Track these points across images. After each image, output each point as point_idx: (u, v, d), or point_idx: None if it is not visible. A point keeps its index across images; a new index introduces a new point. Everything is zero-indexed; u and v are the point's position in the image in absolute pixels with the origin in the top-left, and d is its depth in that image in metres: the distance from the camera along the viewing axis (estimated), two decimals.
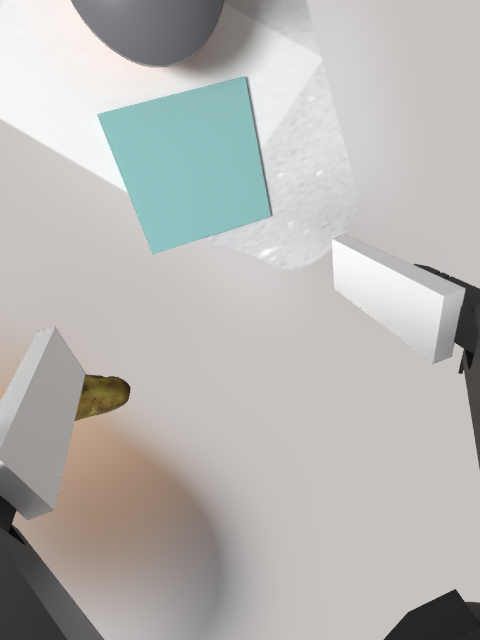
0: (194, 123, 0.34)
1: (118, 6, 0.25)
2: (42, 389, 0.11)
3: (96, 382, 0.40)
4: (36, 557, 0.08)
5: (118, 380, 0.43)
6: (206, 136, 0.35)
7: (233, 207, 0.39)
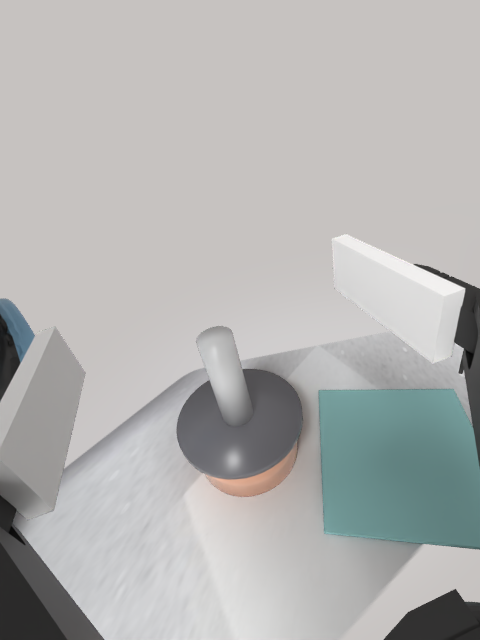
0: (348, 436, 0.34)
1: (256, 439, 0.29)
2: (42, 389, 0.11)
3: None
4: (36, 557, 0.08)
5: None
6: (361, 429, 0.34)
7: (443, 422, 0.33)
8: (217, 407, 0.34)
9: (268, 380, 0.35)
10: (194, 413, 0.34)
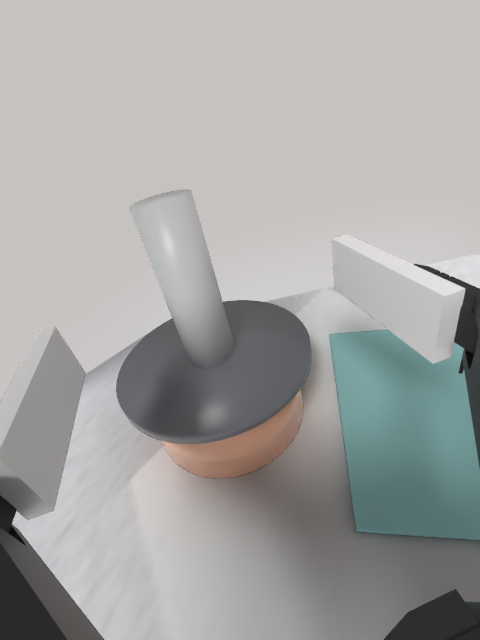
0: (378, 386, 0.23)
1: (238, 382, 0.18)
2: (42, 389, 0.11)
3: None
4: (36, 557, 0.08)
5: None
6: (398, 376, 0.23)
7: None
8: (182, 346, 0.22)
9: (258, 310, 0.24)
10: (147, 356, 0.22)
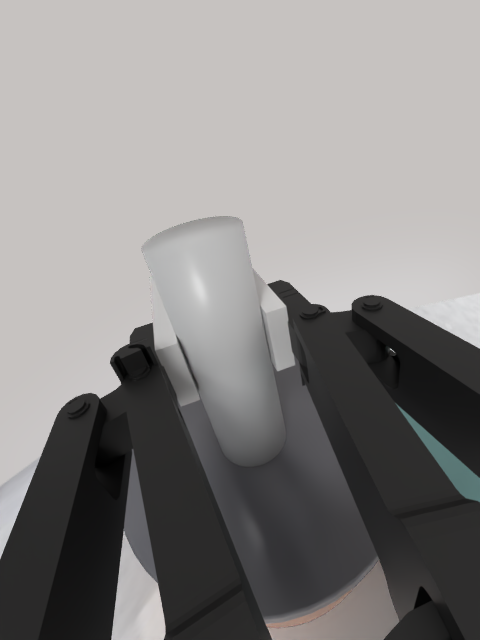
0: (478, 477, 0.16)
1: (302, 503, 0.12)
2: None
3: None
4: (192, 442, 0.10)
5: None
6: None
7: None
8: (209, 422, 0.16)
9: None
10: None
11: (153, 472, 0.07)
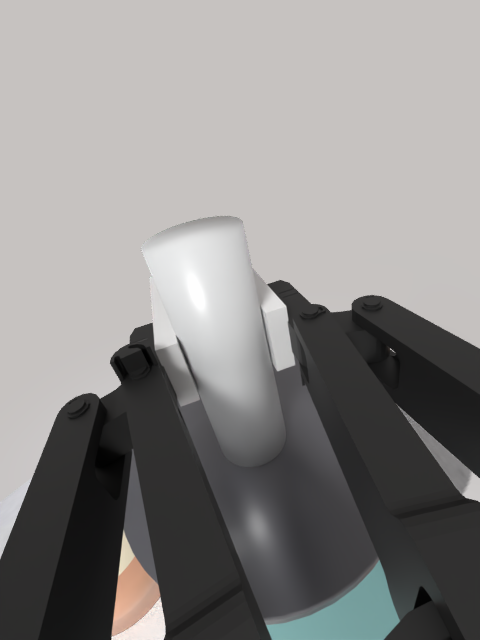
0: None
1: (303, 504, 0.12)
2: None
3: None
4: (192, 442, 0.10)
5: None
6: None
7: None
8: (209, 423, 0.16)
9: None
10: None
11: (153, 472, 0.07)
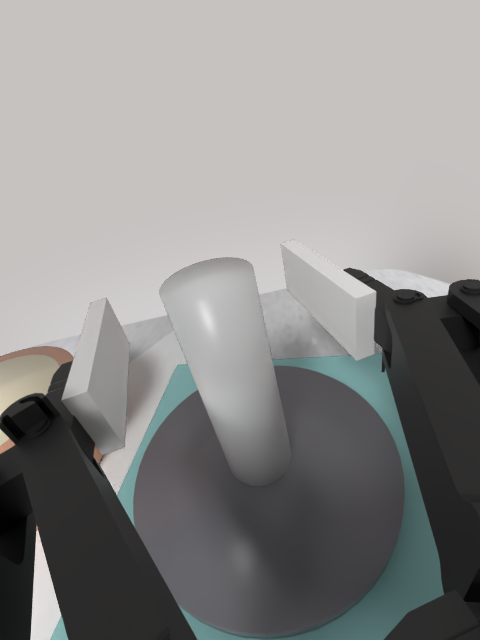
0: None
1: (308, 523, 0.13)
2: (105, 347, 0.12)
3: None
4: (112, 490, 0.09)
5: None
6: None
7: None
8: (217, 441, 0.17)
9: (311, 385, 0.19)
10: (171, 453, 0.17)
11: (61, 539, 0.06)
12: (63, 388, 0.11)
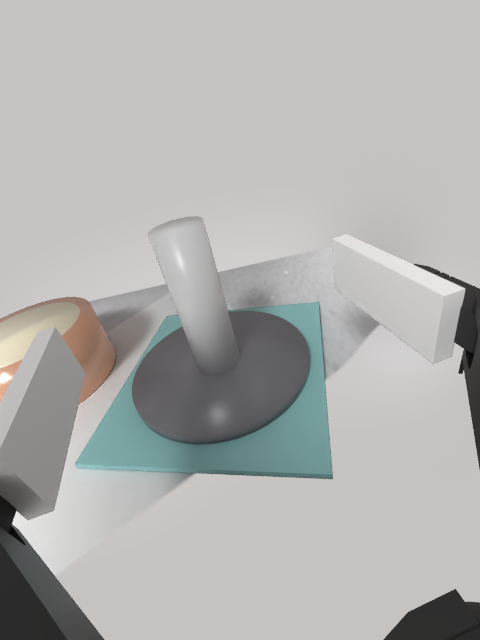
0: None
1: (243, 389, 0.20)
2: (42, 389, 0.11)
3: None
4: (36, 557, 0.08)
5: None
6: None
7: None
8: (191, 354, 0.24)
9: (261, 320, 0.26)
10: (158, 362, 0.24)
11: None
12: None
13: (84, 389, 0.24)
